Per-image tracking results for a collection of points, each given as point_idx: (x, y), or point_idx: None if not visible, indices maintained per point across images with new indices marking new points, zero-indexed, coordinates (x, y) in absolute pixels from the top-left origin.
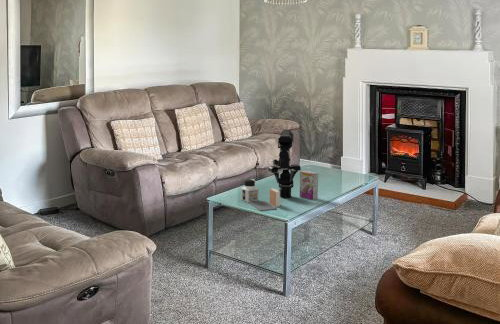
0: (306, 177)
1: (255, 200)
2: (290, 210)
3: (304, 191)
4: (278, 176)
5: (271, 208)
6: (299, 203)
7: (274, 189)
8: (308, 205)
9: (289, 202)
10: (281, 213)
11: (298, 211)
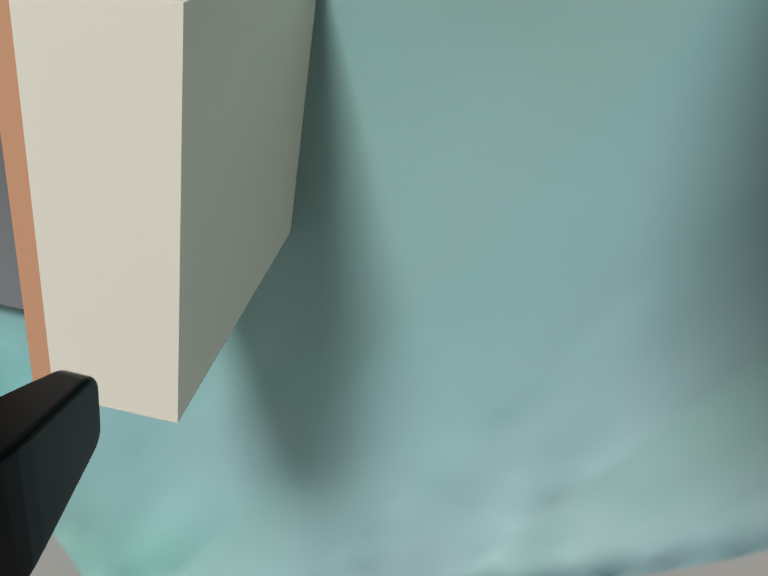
0: None
1: None
2: (319, 471)
3: None
4: None
5: None
6: (739, 284)
7: (119, 147)
8: (750, 448)
9: (637, 116)
10: (140, 493)
11: (388, 547)
